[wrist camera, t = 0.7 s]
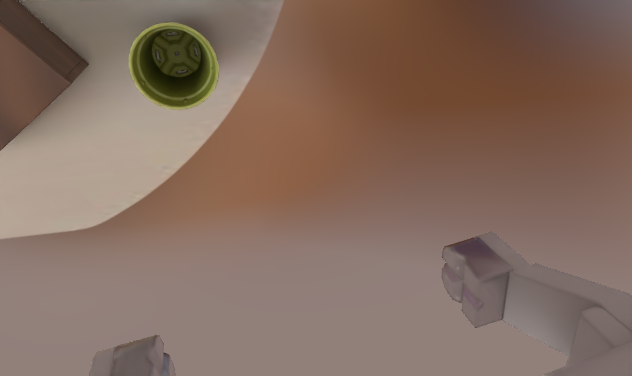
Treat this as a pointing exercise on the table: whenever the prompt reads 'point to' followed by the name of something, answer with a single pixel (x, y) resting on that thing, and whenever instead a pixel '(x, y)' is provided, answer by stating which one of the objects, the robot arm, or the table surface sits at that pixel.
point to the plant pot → (173, 66)
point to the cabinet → (30, 68)
